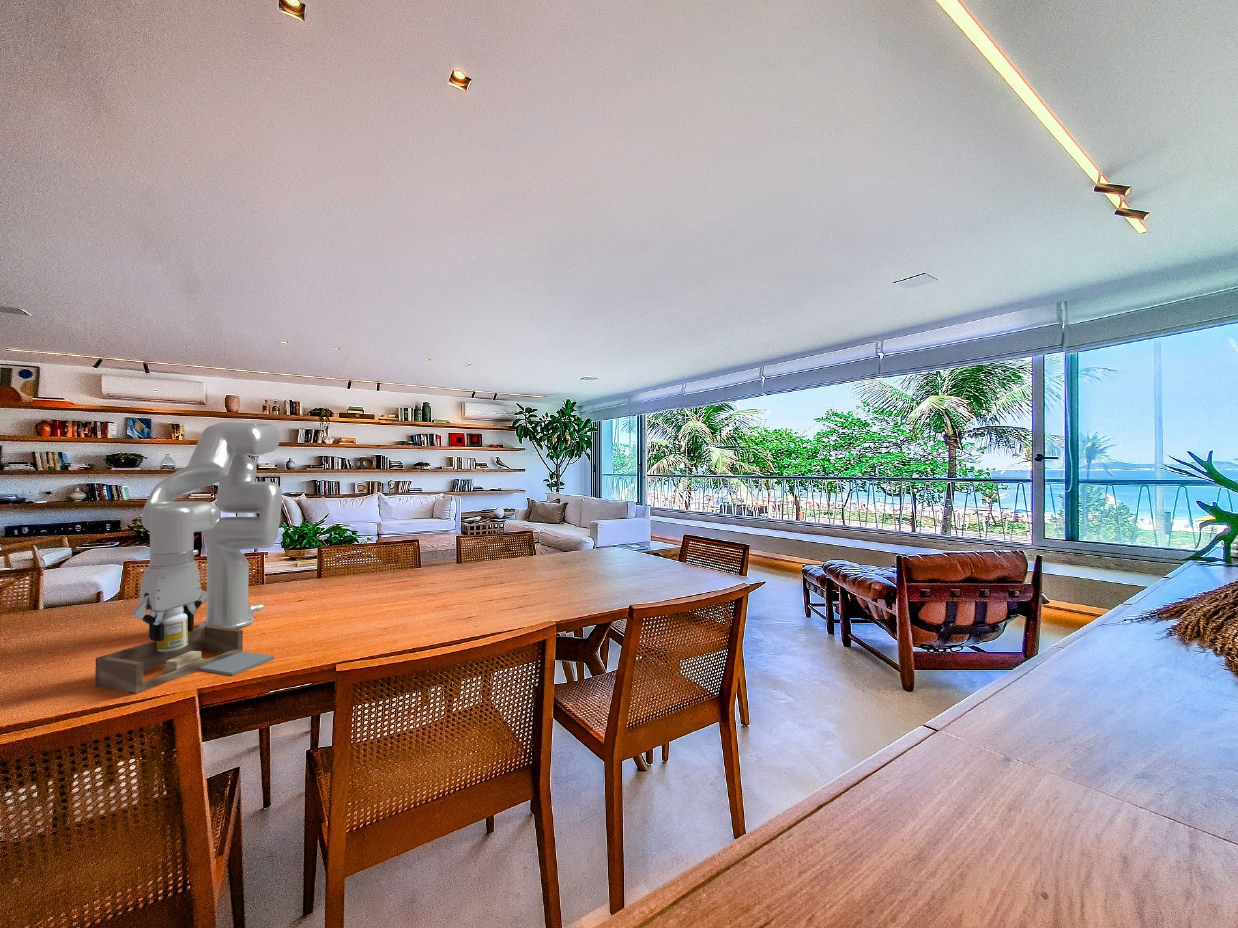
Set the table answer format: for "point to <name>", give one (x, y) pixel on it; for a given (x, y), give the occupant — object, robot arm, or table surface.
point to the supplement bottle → (174, 630)
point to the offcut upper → (183, 660)
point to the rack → (163, 659)
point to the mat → (236, 663)
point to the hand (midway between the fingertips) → (172, 634)
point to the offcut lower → (165, 671)
